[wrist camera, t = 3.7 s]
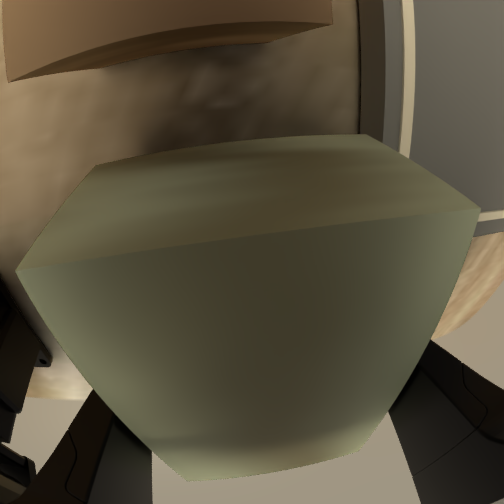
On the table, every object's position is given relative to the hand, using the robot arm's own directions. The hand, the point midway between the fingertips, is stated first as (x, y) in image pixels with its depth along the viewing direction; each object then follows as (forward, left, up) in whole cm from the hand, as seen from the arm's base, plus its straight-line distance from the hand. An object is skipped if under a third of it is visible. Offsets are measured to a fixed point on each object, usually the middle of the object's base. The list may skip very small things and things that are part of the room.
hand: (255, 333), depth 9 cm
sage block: (0, 0, -1) cm, 1 cm away
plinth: (+9, +7, -4) cm, 12 cm away
